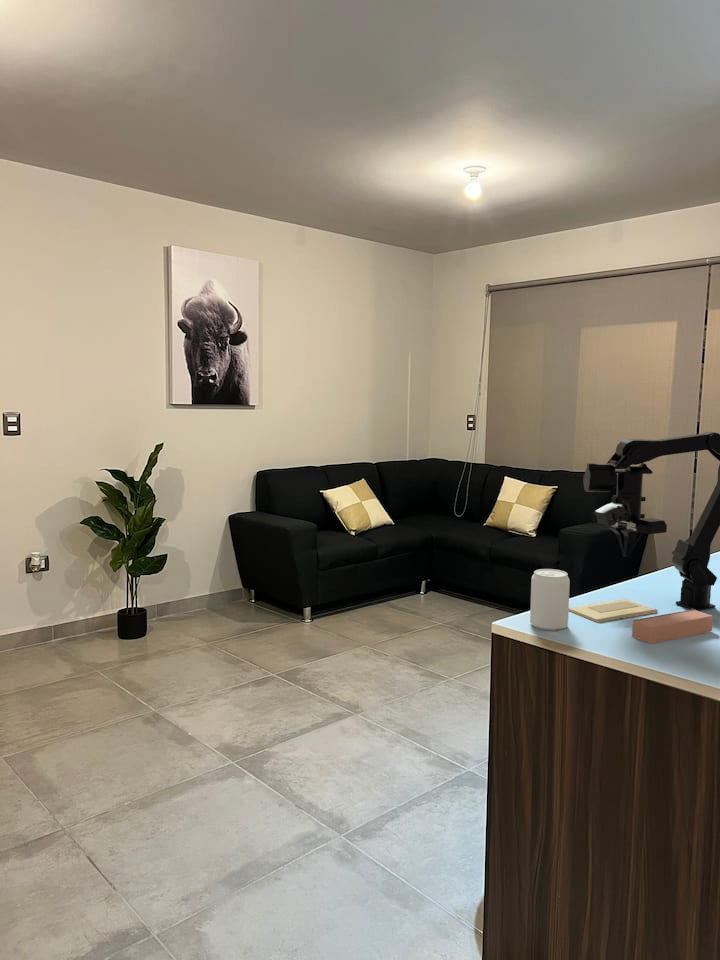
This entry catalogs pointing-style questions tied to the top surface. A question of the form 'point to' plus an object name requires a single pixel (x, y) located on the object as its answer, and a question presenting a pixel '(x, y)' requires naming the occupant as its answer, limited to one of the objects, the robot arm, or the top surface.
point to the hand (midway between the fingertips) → (625, 556)
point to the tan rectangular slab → (612, 610)
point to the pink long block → (672, 626)
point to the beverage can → (549, 599)
